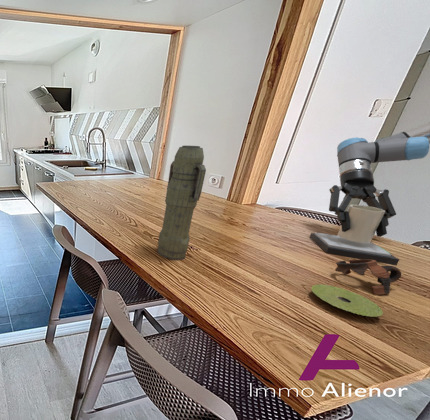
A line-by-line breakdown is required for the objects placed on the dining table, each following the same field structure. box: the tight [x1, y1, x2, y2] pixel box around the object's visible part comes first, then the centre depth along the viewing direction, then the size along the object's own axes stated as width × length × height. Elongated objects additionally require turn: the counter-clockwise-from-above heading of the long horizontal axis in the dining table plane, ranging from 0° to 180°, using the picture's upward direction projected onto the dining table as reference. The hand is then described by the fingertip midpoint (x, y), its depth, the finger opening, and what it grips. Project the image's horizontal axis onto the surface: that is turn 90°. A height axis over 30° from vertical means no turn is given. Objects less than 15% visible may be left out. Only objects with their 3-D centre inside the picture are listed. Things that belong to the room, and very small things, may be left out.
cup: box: [336, 204, 385, 243], centre depth 82 cm, size 7×7×11 cm
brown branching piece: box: [334, 259, 402, 296], centre depth 66 cm, size 12×10×8 cm
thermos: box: [156, 145, 207, 261], centre depth 76 cm, size 9×12×35 cm
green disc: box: [310, 283, 384, 318], centre depth 58 cm, size 11×11×2 cm
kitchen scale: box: [309, 231, 400, 266], centre depth 85 cm, size 16×14×3 cm
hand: (363, 232), depth 80 cm, fingers closed on cup, 7 cm apart
